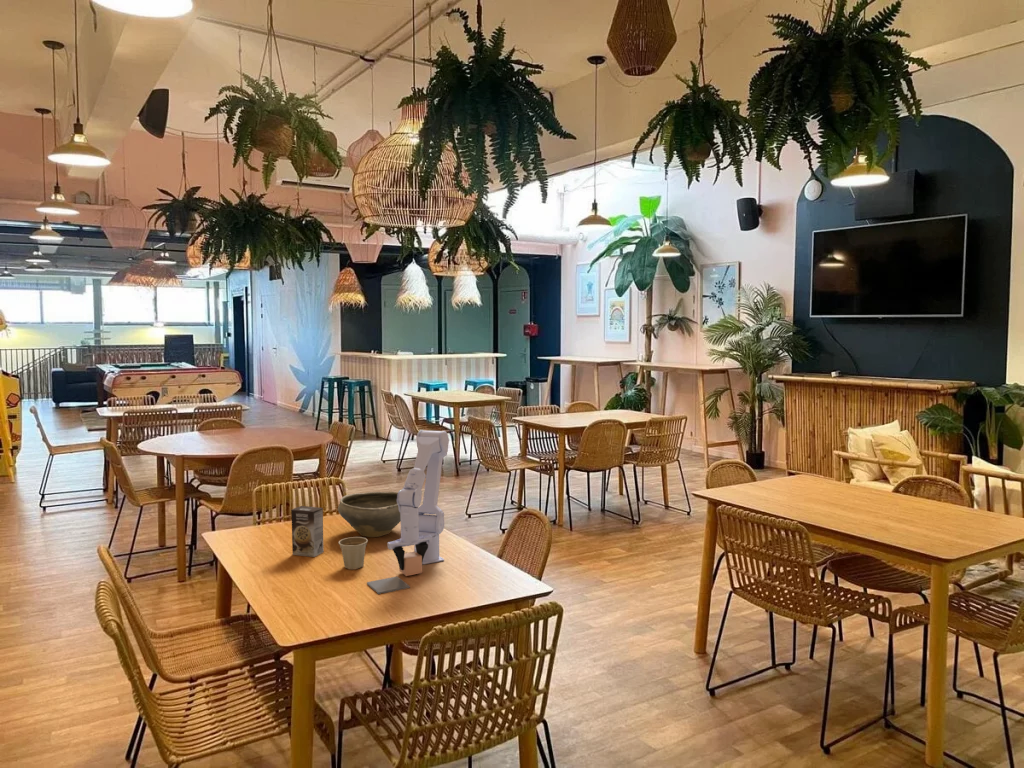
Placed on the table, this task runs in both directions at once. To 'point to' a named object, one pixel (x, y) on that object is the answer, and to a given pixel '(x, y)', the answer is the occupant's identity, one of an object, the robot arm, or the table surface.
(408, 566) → the painted block
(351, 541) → the flower pot
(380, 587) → the slate coaster
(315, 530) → the coffee box
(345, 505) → the bowl
